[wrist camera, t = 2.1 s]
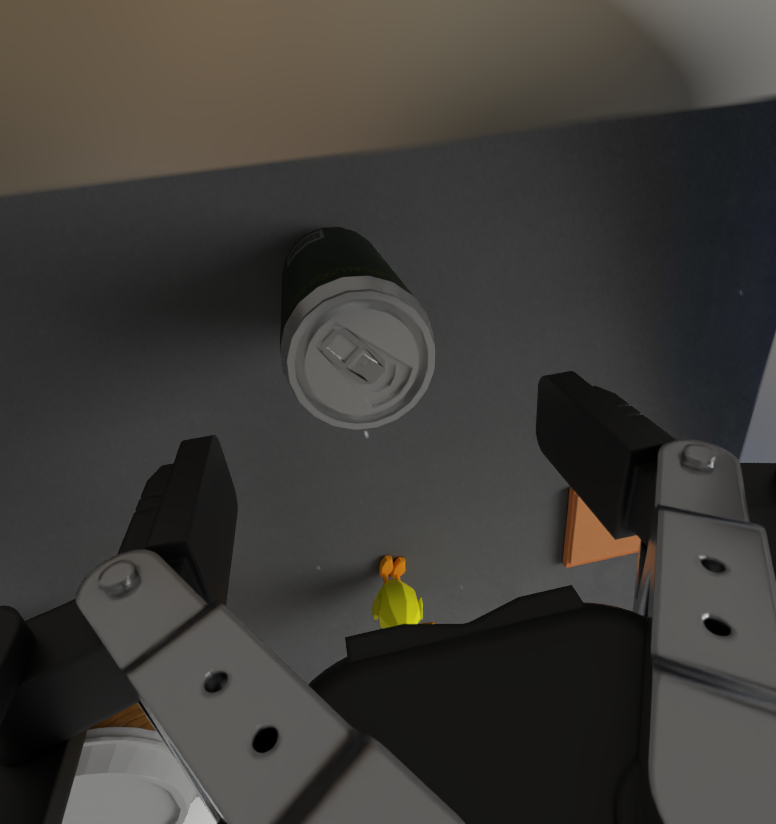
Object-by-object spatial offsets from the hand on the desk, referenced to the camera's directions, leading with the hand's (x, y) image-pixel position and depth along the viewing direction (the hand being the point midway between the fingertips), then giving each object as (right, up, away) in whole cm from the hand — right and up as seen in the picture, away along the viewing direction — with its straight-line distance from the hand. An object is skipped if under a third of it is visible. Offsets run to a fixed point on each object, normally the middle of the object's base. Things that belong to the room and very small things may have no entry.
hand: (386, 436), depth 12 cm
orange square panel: (+18, -8, +27) cm, 34 cm away
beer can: (-3, +8, +14) cm, 17 cm away
